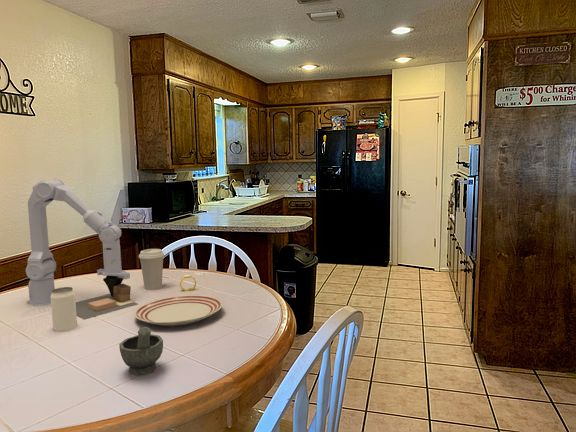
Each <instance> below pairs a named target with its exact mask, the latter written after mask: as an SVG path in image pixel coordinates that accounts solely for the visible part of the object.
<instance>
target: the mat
mask: <svg viewBox="0 0 576 432" xmlns="http://www.w3.org/2000/svg"><path fill="white" fill-rule="evenodd" d="M105 298H109V299H112V300H113V297H111V294H110V293H107V294H103V295H99V296H95V297H92V298H87V299H84V300H79V301H75V302H76V314H77V317H78V318H79V319H82V320H88V319H92V318H96V317H99V316H102V315H106V314H108V313H110V314H111V313H113V312H116V311H119V310H123V309H126V308H130V307H131V308H132V307H134V306H137V305H139V303H138V302H135V301H133V300H131V299H130V300H127V301H125V302H122V303H120V302H118V301H116V304H117V306H115V307H111V308H108V309H104V310H100V311H95V310H93V309H90V308H88V303H90V302H94V301H98V300H102V299H105ZM114 301H115V300H114Z"/></svg>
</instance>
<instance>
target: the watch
mask: <svg viewBox="0 0 576 432" xmlns="http://www.w3.org/2000/svg"><path fill="white" fill-rule="evenodd" d="M184 279H193V281H194V285H193V287H192V288H188V289H187V288H186V289H185V288H183V286H182V283H183V281H184ZM179 286H180V289H181V290H182V291H184V292H188V291H189V290H190V291H193V290H194V289H195V288H196V286H197V279H196V278H195V277H194V276H192V274H184V275H183V277H182V278H181V279H180V281H179Z"/></svg>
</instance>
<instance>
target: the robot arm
mask: <svg viewBox="0 0 576 432" xmlns="http://www.w3.org/2000/svg"><path fill="white" fill-rule="evenodd" d="M53 201H59V202H65V203H66V204H68V206H69V207H70V208H72V209H74V210H75V211H76V212H77V213H79V214H80V215H81V216H83V218H82V219H83V222H84V223H85V224H86V225H87V226H88V227H89V228H91V230H93V231H94V232H95V233H96V234H97V235H98V238H99V240H100V242H102V253H103V254H102V258H103V268H99V269H96V275H97V276H103V277H104V278H102V281H103V282H104V283H105V286H106V287H107V289H108V292H109V294H111V297H113V291H114V286H116V285H119V284H122V283H123V281H124V280H128V279H131V273H130V272H128V271H125V270H123V269H122V257H121V245H120V243H121V242H120V237H122V228H120V227H119V225H118V224H115V223H113V222H112V221H111V220H110V221H109V220H108V219H107V218H106V216H104V215H103V212H102V211H101V210H97V209H91V207H89V206H88V205H87V204H86V203H84V201H83V200H81V199H80V198H79V196H77V194H76V193H74V191H72V189H71V188H70V186H69V185H68V184H65V182H63V181H62V180H61V179H52V180H50V179H49V180H40V181H38V182H37V183H36V184H35V185H33V186H32V192H31V194H30V196H29V199H28V200H27V211H28V224H29V234H30V235H29V236H30V248H31V253H30V255H29V256H28V258H27V265H26V267H25V274H26V276H27V278H28V279H29V282H28V285H27V286H28V295H29V296H28V297H29V299H28V300H26V303H28V304H30V305H33V307H42V306H46V305H51V294H52V290H54V289H56V288H55V287H56V286H55V275H54V272H55V271H56V270H57V262H56V261H55V259H54V254H53V253H52V251H50V246H49V231H48V230H49V229H48V218H47V206H48V205H50V204H51V203H52V202H53Z"/></svg>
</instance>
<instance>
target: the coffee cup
mask: <svg viewBox="0 0 576 432" xmlns="http://www.w3.org/2000/svg"><path fill="white" fill-rule="evenodd" d="M164 256H165V253H164V252H163V251H162V249H160V248H147V249H143V250H141V251H140V253H139V254H138V258H139V261H140V266H141V272H142V273H141V274H142V280H143V287H144V290H146V291H153V290H155V291H156V290H160V289H162V287H163V270H164V265H163V264H164Z"/></svg>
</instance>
